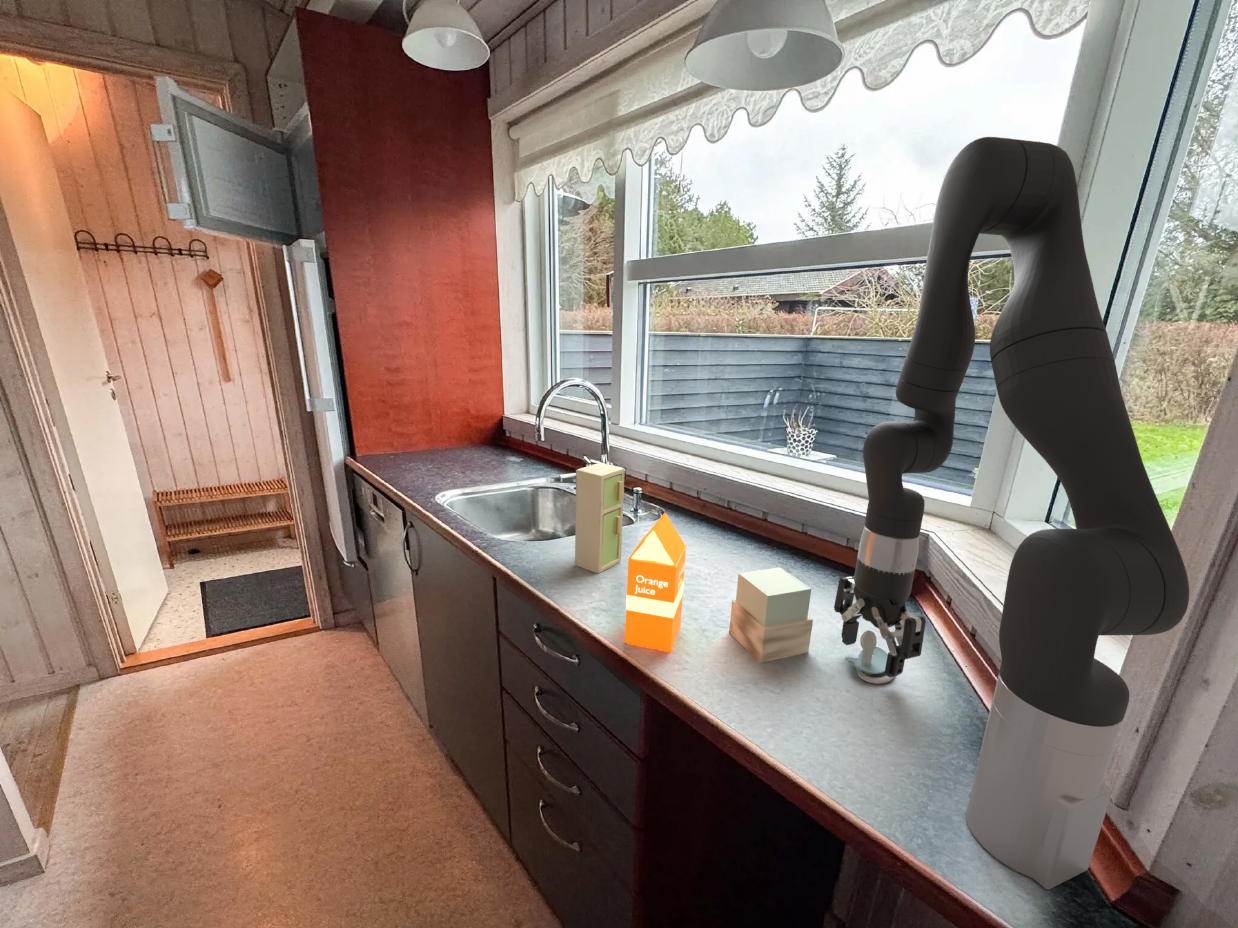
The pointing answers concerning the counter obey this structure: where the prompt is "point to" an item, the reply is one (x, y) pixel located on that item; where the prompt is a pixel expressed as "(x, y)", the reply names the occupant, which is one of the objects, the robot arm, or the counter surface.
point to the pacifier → (870, 659)
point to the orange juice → (655, 588)
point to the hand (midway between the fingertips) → (869, 658)
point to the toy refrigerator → (599, 516)
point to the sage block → (773, 596)
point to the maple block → (769, 635)
